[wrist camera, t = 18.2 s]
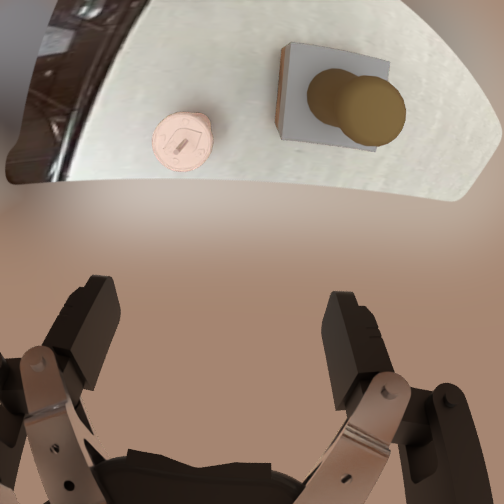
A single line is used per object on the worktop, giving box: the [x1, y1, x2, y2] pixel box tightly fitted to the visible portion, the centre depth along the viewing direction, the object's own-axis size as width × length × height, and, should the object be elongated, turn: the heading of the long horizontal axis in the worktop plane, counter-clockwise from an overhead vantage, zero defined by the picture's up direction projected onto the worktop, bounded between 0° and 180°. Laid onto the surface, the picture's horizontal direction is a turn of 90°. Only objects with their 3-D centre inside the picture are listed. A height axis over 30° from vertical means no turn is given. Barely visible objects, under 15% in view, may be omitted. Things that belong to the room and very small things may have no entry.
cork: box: [307, 68, 406, 147], centre depth 22 cm, size 6×6×11 cm
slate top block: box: [278, 42, 390, 152], centre depth 29 cm, size 10×10×5 cm
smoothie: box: [152, 112, 213, 172], centre depth 32 cm, size 6×6×14 cm
